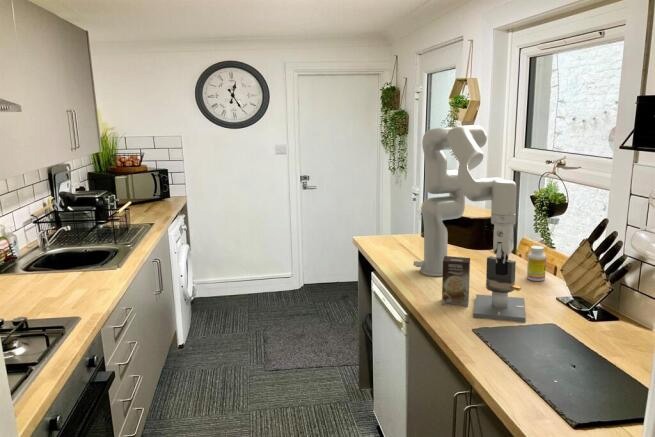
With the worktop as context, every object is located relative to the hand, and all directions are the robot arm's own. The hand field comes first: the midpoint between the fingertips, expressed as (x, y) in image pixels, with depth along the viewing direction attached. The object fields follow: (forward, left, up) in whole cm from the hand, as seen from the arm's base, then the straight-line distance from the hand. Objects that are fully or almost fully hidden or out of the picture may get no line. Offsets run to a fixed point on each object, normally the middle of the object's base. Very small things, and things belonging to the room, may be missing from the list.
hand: (501, 272), depth 171 cm
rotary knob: (+1, 0, -6) cm, 6 cm away
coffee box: (-15, +3, -13) cm, 20 cm away
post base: (0, 0, -13) cm, 13 cm away
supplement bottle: (+13, +36, -13) cm, 41 cm away
